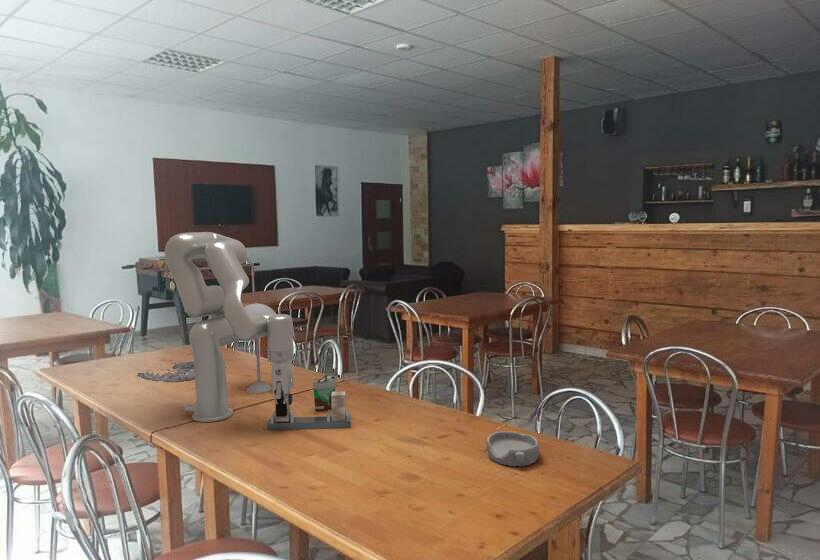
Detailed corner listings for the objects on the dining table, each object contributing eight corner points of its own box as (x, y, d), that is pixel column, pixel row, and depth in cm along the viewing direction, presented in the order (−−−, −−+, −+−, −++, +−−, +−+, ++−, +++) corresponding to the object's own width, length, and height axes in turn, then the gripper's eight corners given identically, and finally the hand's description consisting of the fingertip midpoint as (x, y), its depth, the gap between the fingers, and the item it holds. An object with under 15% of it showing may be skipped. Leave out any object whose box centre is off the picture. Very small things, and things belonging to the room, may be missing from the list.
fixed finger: (329, 421, 182) (328, 395, 181) (330, 416, 186) (329, 391, 185) (345, 420, 182) (344, 395, 181) (346, 416, 186) (345, 391, 185)
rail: (267, 430, 181) (266, 417, 180) (270, 424, 186) (270, 411, 185) (350, 427, 182) (349, 414, 181) (351, 421, 187) (350, 409, 186)
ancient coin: (164, 361, 271) (164, 360, 271) (237, 362, 267) (237, 362, 267) (119, 381, 239) (119, 380, 239) (201, 383, 234) (201, 382, 234)
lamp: (243, 383, 232) (240, 299, 229) (287, 383, 232) (284, 298, 228) (229, 396, 215) (224, 305, 212) (276, 396, 215) (272, 305, 211)
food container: (331, 413, 195) (330, 383, 194) (313, 412, 196) (312, 382, 195) (342, 402, 207) (342, 373, 206) (326, 401, 208) (325, 373, 207)
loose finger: (291, 421, 181) (290, 395, 180) (275, 421, 181) (274, 395, 180) (293, 416, 185) (292, 391, 184) (277, 417, 185) (276, 392, 184)
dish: (528, 473, 148) (528, 453, 148) (477, 461, 156) (477, 443, 155) (547, 453, 160) (547, 435, 160) (499, 443, 168) (499, 426, 167)
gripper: (288, 361, 173) (291, 422, 175) (297, 348, 189) (299, 404, 191) (262, 362, 172) (265, 423, 174) (273, 349, 189) (275, 405, 191)
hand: (283, 413), depth 183 cm, fingers closed on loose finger, 4 cm apart
